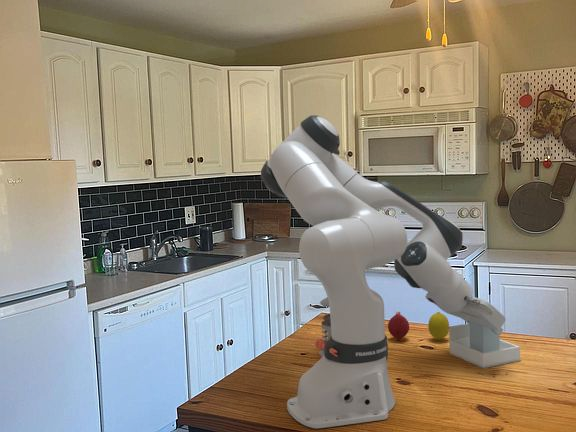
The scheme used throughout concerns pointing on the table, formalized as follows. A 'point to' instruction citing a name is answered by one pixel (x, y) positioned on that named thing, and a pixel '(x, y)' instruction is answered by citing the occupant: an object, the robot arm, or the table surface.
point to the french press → (326, 324)
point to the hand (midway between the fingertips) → (486, 327)
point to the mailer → (461, 349)
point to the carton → (483, 338)
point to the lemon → (438, 326)
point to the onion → (398, 326)
